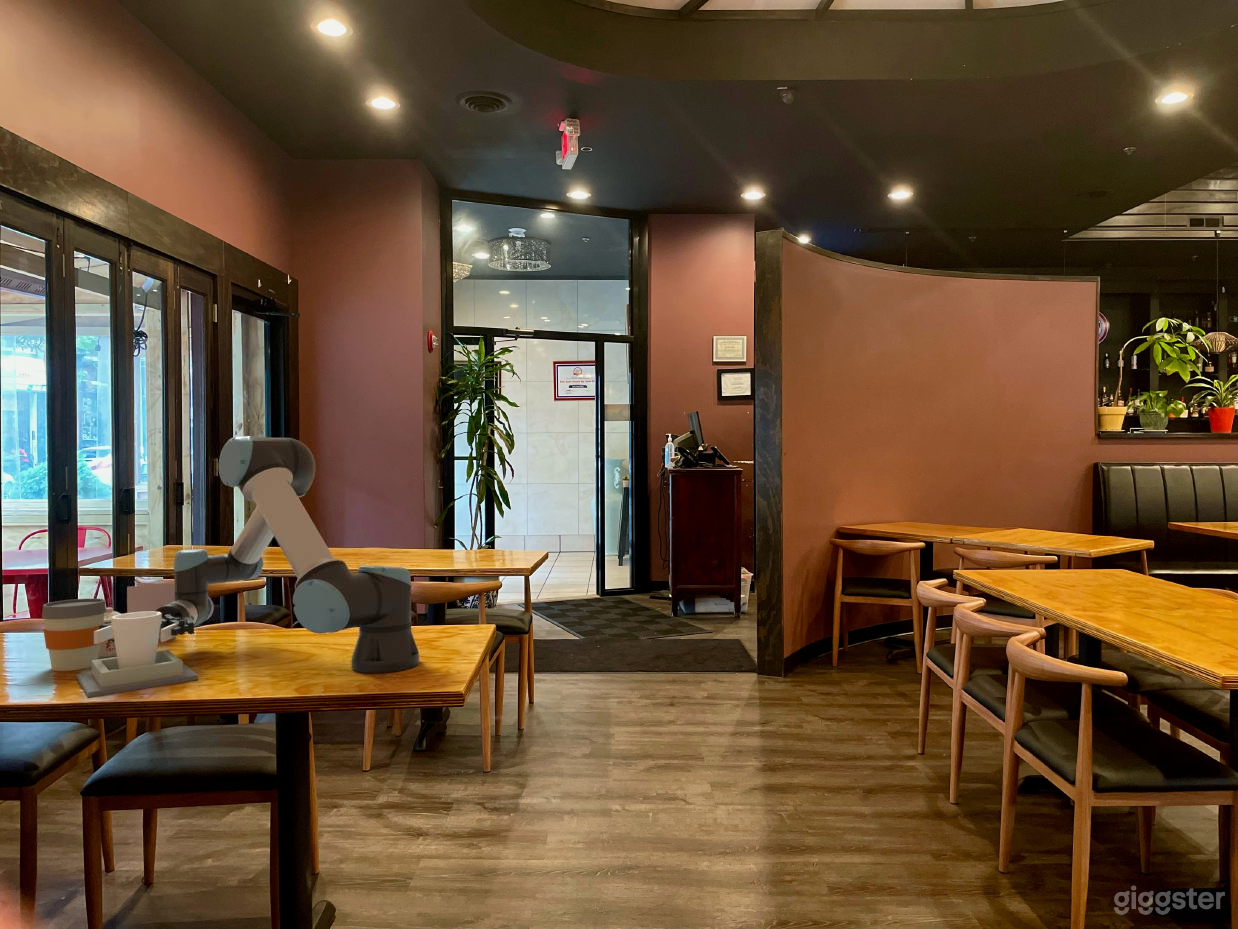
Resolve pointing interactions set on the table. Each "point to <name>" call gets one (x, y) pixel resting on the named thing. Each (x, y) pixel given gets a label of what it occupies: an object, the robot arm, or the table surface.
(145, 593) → the greeting card
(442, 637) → the table surface
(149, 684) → the tray
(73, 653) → the reusable coffee cup
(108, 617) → the teacup with lid
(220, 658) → the table surface
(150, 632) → the foam cup
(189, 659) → the table surface
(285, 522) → the robot arm
